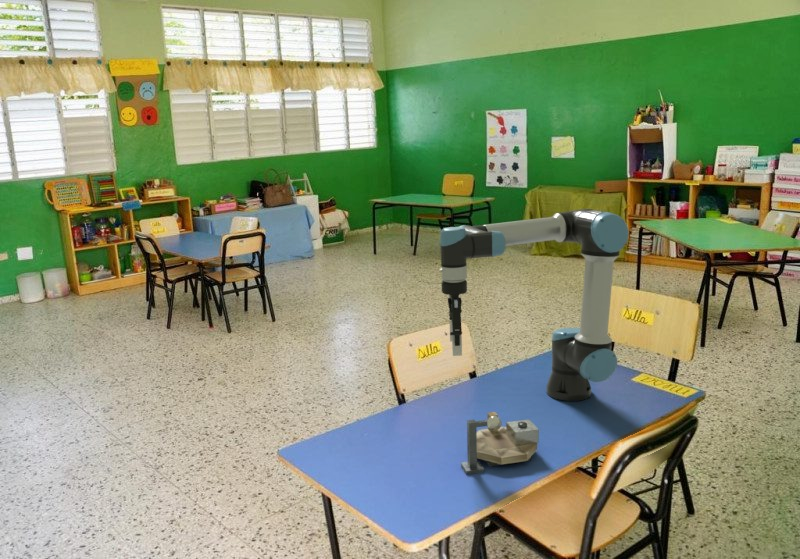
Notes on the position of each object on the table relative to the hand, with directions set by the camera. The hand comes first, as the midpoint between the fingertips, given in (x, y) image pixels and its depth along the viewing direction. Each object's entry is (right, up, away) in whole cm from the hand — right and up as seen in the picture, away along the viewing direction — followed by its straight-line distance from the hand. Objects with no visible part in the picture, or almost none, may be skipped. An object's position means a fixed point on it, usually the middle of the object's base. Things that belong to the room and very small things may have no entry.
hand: (455, 348), depth 203 cm
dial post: (+6, -31, -19) cm, 37 cm away
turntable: (+12, -27, -12) cm, 32 cm away
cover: (+18, -25, -11) cm, 33 cm away
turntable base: (+12, -29, -12) cm, 34 cm away
